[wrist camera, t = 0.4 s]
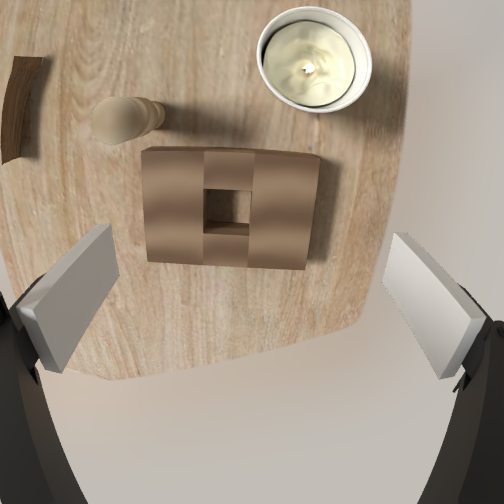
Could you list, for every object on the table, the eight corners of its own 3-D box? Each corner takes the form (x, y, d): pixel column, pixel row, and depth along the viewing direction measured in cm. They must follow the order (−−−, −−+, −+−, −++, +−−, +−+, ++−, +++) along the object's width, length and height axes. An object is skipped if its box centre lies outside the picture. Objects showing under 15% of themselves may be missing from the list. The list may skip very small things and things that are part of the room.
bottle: (135, 99, 33) (91, 99, 22) (169, 97, 33) (135, 94, 22) (135, 133, 35) (91, 146, 24) (168, 132, 35) (134, 144, 24)
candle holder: (284, 126, 35) (301, 134, 24) (237, 61, 31) (232, 40, 20) (350, 87, 32) (392, 81, 22) (306, 22, 29) (330, -10, 18)
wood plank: (26, 158, 35) (5, 166, 30) (17, 156, 35) (-3, 164, 30) (43, 57, 28) (22, 55, 24) (33, 57, 28) (12, 55, 24)
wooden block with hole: (151, 146, 35) (141, 151, 32) (313, 153, 36) (320, 159, 33) (155, 248, 42) (147, 261, 38) (300, 255, 42) (304, 270, 39)
